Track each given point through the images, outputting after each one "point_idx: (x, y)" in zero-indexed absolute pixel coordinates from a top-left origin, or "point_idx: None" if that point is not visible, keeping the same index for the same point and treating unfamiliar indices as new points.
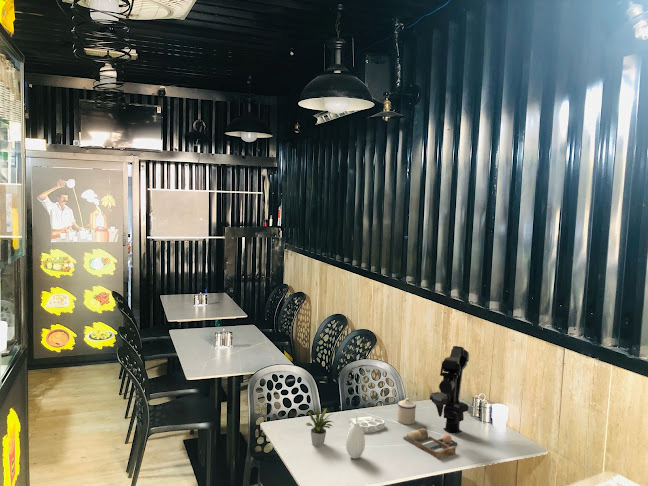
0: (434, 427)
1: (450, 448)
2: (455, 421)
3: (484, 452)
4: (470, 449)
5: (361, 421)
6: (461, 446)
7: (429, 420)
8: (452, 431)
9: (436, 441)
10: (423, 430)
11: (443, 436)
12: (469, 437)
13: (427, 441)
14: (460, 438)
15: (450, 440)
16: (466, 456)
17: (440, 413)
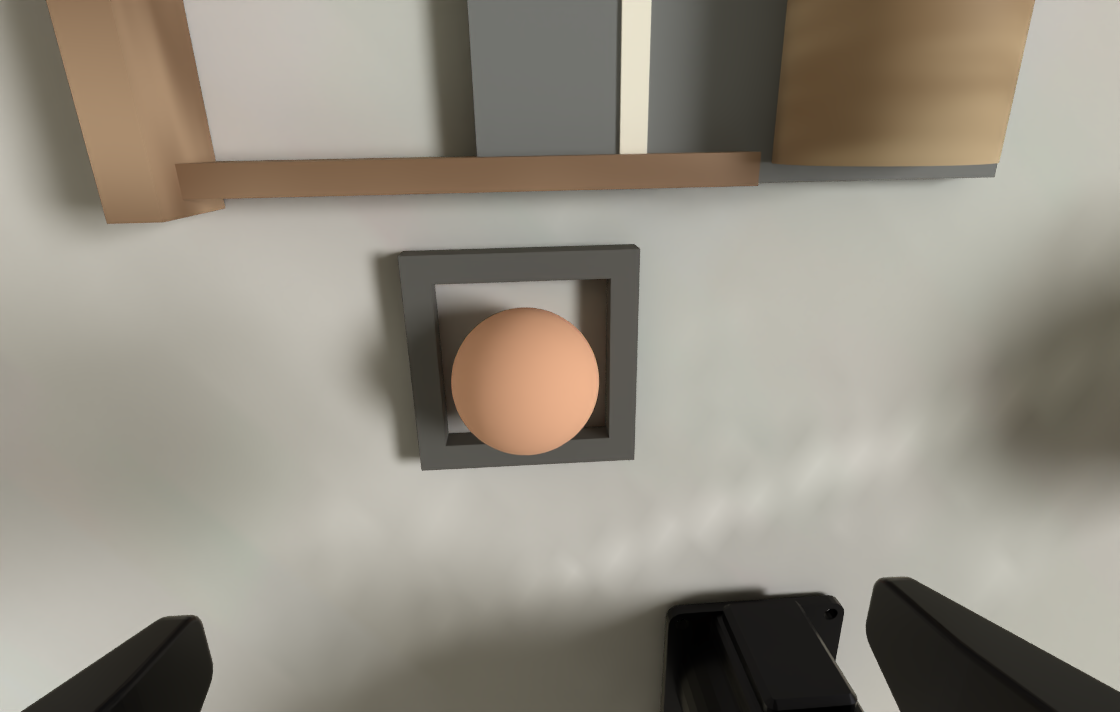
0: (945, 544)
1: (63, 55)
2: (45, 702)
3: (85, 594)
4: (222, 503)
5: None
6: (346, 462)
7: (1101, 620)
8: (707, 639)
9: (559, 156)
10: (912, 80)
11: (561, 342)
12: (506, 706)
13: (678, 39)
14: (538, 606)
15: (451, 387)
16: (35, 293)
17: (946, 693)
